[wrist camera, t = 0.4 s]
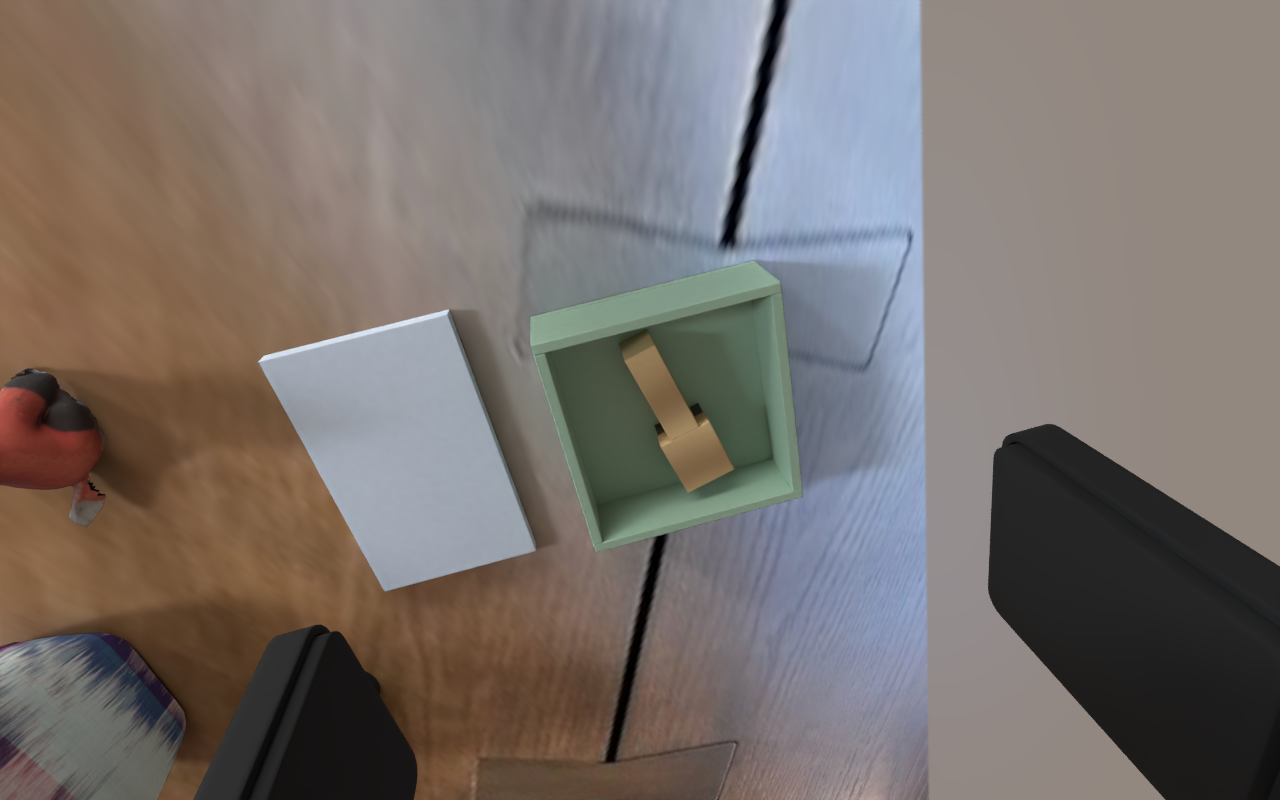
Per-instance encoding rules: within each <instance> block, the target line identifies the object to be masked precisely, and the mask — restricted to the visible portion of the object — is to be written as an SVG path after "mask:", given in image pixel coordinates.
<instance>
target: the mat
mask: <svg viewBox="0 0 1280 800" xmlns="http://www.w3.org/2000/svg"><path fill="white" fill-rule="evenodd" d="M259 364H260V366H261V368H262V369H263V371H264V373H265V375H266V377H267V379H268V380H269V382H270V384H271V386H272V388H273V390H274V391H275V393H276V395H277V397H278V399H279V400H280V402H281V404H282V406H283V408H284V410H285V411H286V413H287V415H288V417H289V419H290V420H291V422H292V424H293V426H294V428H295V430H296V431H297V433H298V435H299V437H300V439H301V441H302V442H303V444H304V446H305V448H306V450H307V451H308V453H309V455H310V457H311V459H312V461H313V462H314V464H315V466H316V468H317V470H318V471H319V473H320V475H321V477H322V479H323V481H324V482H325V484H326V486H327V488H328V490H329V492H330V493H331V495H332V497H333V499H334V501H335V502H336V504H337V506H338V508H339V510H340V512H341V513H342V515H343V517H344V519H345V521H346V522H347V524H348V526H349V528H350V530H351V532H352V533H353V535H354V537H355V539H356V541H357V543H358V544H359V546H360V548H361V550H362V552H363V553H364V555H365V557H366V559H367V561H368V563H369V564H370V566H371V568H372V570H373V572H374V573H375V575H376V577H377V579H378V581H379V583H380V584H381V586H382V588H383V590H384V591H389V590H392V589H396V588H400V587H404V586H407V585H411V584H415V583H419V582H422V581H426V580H430V579H433V578H437V577H441V576H445V575H448V574H452V573H456V572H460V571H463V570H467V569H471V568H475V567H478V566H482V565H486V564H489V563H493V562H497V561H501V560H504V559H508V558H512V557H516V556H519V555H523V554H527V553H531V552H534V551H536V542H535V539H534V536H533V534H532V531H531V528H530V526H529V523H528V520H527V518H526V515H525V512H524V510H523V507H522V504H521V501H520V499H519V496H518V493H517V491H516V488H515V485H514V483H513V480H512V477H511V475H510V472H509V469H508V467H507V464H506V461H505V458H504V456H503V453H502V450H501V448H500V445H499V442H498V440H497V437H496V434H495V432H494V429H493V426H492V424H491V421H490V418H489V416H488V413H487V410H486V407H485V405H484V402H483V399H482V397H481V394H480V391H479V389H478V386H477V383H476V381H475V378H474V375H473V373H472V370H471V367H470V365H469V362H468V359H467V356H466V354H465V351H464V348H463V346H462V343H461V340H460V338H459V335H458V332H457V330H456V327H455V324H454V322H453V319H452V316H451V313H450V311H449V310H445V311H441V312H437V313H433V314H429V315H425V316H421V317H417V318H413V319H409V320H405V321H401V322H397V323H393V324H389V325H385V326H381V327H377V328H373V329H369V330H365V331H361V332H357V333H353V334H349V335H345V336H341V337H337V338H333V339H329V340H325V341H321V342H317V343H313V344H309V345H305V346H301V347H297V348H293V349H289V350H285V351H281V352H277V353H273V354H269V355H265V356H263V357H262V359H261V360H260V361H259Z"/></svg>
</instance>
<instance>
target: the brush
mask: <svg viewBox="0 0 1280 800" xmlns="http://www.w3.org/2000/svg"><path fill="white" fill-rule="evenodd" d="M619 346H620V349H621V352H622V355H623V358H624V361H625V363H626V365H627V367H628V368H629V370H630V372H631V374H632V375H633V377H634V379H635V380H636V382H637V384H638V386H639V387H640V389H641V391H642V393H643V394H644V396H645V398H646V400H647V401H648V403H649V405H650V406H651V408H652V410H653V412H654V413H655V415H656V417H657V419H658V420H659V422H660V423H658V424H656V425H655V429H656V431H657V434H658V436H657V438H658V441H659V444H660V447H661V449H662V450H663V452H664V454H665V455H666V457H667V459H668V460H669V462H670V464H671V465H672V467H673V469H674V471H675V472H676V474H677V476H678V477H679V479H680V481H681V482H682V484H683V486H684V487H685V489H686V491H687V492H688V493H689V492H691V491H693V490H695V489H697V488H699V487H701V486H703V485H705V484H707V483H709V482H711V481H713V480H715V479H717V478H718V477H720V476H722V475H724V474H726V473H728V472H730V471H732V470H734V467H733V465H732V463H731V461H730V459H729V457H728V455H727V453H726V451H725V449H724V448H723V446H722V444H721V442H720V440H719V438H718V436H717V434H716V432H715V431H714V429H713V427H712V425H711V423H710V421H709V419H708V417H707V415H706V414H705V412H703V411H702V409H701V407H700V405H699V403H697V404H695V405H693V406H691V407H689V405H688V403H687V401H686V399H685V398H684V396H683V394H682V392H681V390H680V388H679V386H678V385H677V383H676V381H675V379H674V377H673V375H672V374H671V372H670V370H669V368H668V366H667V364H666V362H665V361H664V359H663V357H662V355H661V353H660V351H659V349H658V348H657V346H656V344H655V342H654V340H653V338H652V337H651V335H650V333H649V331H648V329H646V330H644V331H642V332H640V333H638V334H636V335H635V336H633V337H631V338H629V339H627V340H625V341H623V342H622V343H620V344H619Z"/></svg>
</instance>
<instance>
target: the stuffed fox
mask: <svg viewBox="0 0 1280 800" xmlns="http://www.w3.org/2000/svg"><path fill="white" fill-rule="evenodd" d="M84 404H85V403H83V402H81V401H77V400H75V399H73V397H71V396H70V395H69V394H68V393H67V392H66V391H64V390H62V389H59V385H58V384H57V380H56V379H55V377H54V376H52V375H51V374H48V373H45V372H41V371H38V370H35V369H34V370H33V369H25V370H23V371H22V372H20V373H18V374H16V376H15V377H13V378H11V381H10V382H8V383H7V384H5V386H4V387H3V389H2V390H1V391H0V485H4V486H10V487H17V488H25V489H40V490H51V489H59V488H64V487H67V486H73V487H74V489H75V491H74V496H73V502H72V505H71V512H70V514H69V517H70V519H71V520H72V521H74V522H75V523H78V524H80V525H83V526H86V527H87V526H89V524H90V523H91V522H92V521H93V519H94V517H95V516H96V515H97V514H98V512H99V511H100V510H101V509H102V507H103V504H104V500H105V497H106V495H105V494H100V493H99V490H96V489H94V488H95V486H92V485H93V483H90V480H88V478H89V476H88V473H89V472H90V470H91V469H92V468H93V467H94V465H95V464H96V463H97V461H98V460H99V458H100V454H101V453H102V452H103V451H104V449H102V448H103V445H104V442H105V437H104V434H103V432H102V430H100V429H99V426H98V424H97V421H96V418H95V417H94V416H93V415H92V414H91V412H90V410H89V409H88V407H87V406H86V405H84Z"/></svg>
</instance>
